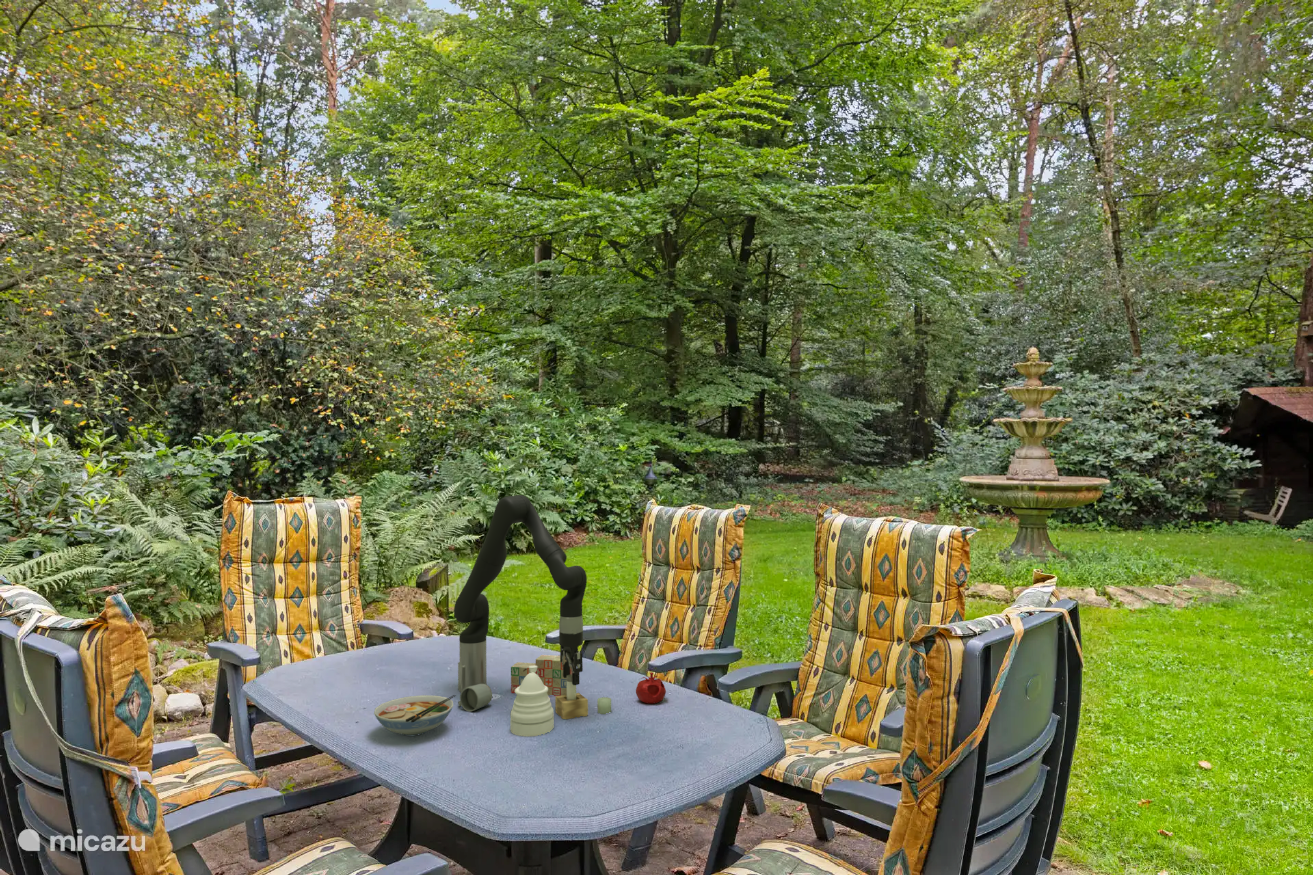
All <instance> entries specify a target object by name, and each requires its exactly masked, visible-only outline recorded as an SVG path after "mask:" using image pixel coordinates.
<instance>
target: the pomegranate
mask: <svg viewBox="0 0 1313 875" xmlns="http://www.w3.org/2000/svg"><path fill="white" fill-rule="evenodd" d="M649 674H650V676H649V675H645V676H643V677H641V678H640V681H639V682H637V685H636V689H635V694H636V697H637V698H638V700H639V701H640V702H643V703H644V704H649V705H653V704H658V703H660V702H662V701H663V700H664V699H665V697H666V693H667V691H666V688H665V684H664V683H663V679H662V680H661V678H658V677H659V676H658V675H654V672H649ZM655 678H656V679H655ZM642 679H643V680H642Z"/></svg>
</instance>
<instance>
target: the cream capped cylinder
mask: <svg viewBox="0 0 1313 875" xmlns="http://www.w3.org/2000/svg"><path fill="white" fill-rule="evenodd" d="M576 693H577V685H573V684H572V674H571V675H567V701H570V700H576Z"/></svg>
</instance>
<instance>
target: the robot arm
mask: <svg viewBox="0 0 1313 875" xmlns="http://www.w3.org/2000/svg"><path fill="white" fill-rule="evenodd" d="M519 523H521V524H523V525H524V526H525V527H526V528H527V529H528V531H529V532H530V534H531V537H532V538H531V539H532V542H533V547H534V550H535V552H536V553H537V555H538V557H539V558H540V559H541V560H542V561H543V563H544V564H545V565H546V567H547V568H548V571H549V573H550V575H551V578H552V580H553V582H554V583H555V585H556V586H557V587H558V588H559V589H560V590H563V591H566V594H565V595H564V596H563V597H562V598H561V599H560V601H559V602H560V603H559V621H558V622H559V623H558V625H559V626H558V633H559V635H558V641H559V642H558V644H559V646H560V650H559V652H560V653H559V655H560V662H562V666H563V677H564V678H567V675H570V667H571V669H572V684H573V685H576V686H579V685H580V673H582V672H584V669H583V668H584V667H583V652H582V651H581V652H580V651H579V646H582V645H583V644H584V623H583V622H584V620H583V599H584V595H585V592H586V588H587V581H588V578H587V577H588V576H587V572H586V570H585V569H584V568H583V567H582V566H580V565H571V566H567V565H566V564H565V563H566V561H567V559H568V558H567V557H568V556H567V554H566V552H565V550H563V548H562V547H561V546H560V545H559V544H558V543H557V541H556V540H555V538H553V536H552V535H551V534H550V532H549V531H548V529H547V527H546V525H545V524H544V521H543V520H542V518H541V517H540V515H539V513H538V512H537V510H536V509H535V506H534V505H533V503H532V501H530V499H529V497H527V496H525V495H522V494H516V495H509V496H504V497H502V498H500V499H499V500H498V502H497V504H496V506H495V508H494V511H493V514H492V518H491V522H490V525H489V528H488V530H487V533H486V536H485V538H484V542H483V544H482V546H481V548H480V550H479V552H478V555H477V557H476V560H475V563H474V565H473V568H472V570H471V572H470V574H469V576H468V578H467V581H466V582H465V584H464V586H463V587H462V590H461V591H460V594H459V595H458V596H457V598H456V601H455V603H454V607H453V614H454V615H453V616H454V618H455V620H456V621H457V622H459V623H461V624H466V623H469V625H468V626H467V627H466V628H465V629H464V630H463V631H461V632H460V633H459V635H458V636H459V641H458V642H459V661H458V662H457V678H458V679H457V682H458V683H457V690H458V691H459V692H460V693H461V692H462V691H463V690H464V689H465V688H467V687H470V686H474V685H478V684H486V685H488V684H487V683H488V682H487V675H488V674H487V635H488V632H489V621H490V618H489V617H490V605H489V600H488V598H487V597H486V595H485V594H483V591H484V590H485V589H486V588H488V586H489V585H491V583H493V581H495V580H496V579H497V577H498V576H499V575H500V574H501V571H502V569H503V567H504V565H505V563H506V560H507V557H508V550H507V546H506V536H507V535H508V532H509V530H510V528H511V527H512V526H513V524H519Z"/></svg>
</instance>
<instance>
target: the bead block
mask: <svg viewBox="0 0 1313 875" xmlns="http://www.w3.org/2000/svg"><path fill="white" fill-rule="evenodd" d="M554 698H555V699H554V700H555V701H554V702H555V704H554V705H555V707H554V708H555V710H554V711H555V713H556V714H557V715H558V716H559V717H560V716H561V717H560V718H561V719H562V720H563V719H565V720H570V719H571V720H572V719H576V718H575V717H577V718H581V717H580V716H583V717H588V716H589V699H588V698H587V697H585V696H583V695H582V694H581V693H580V692H576V700H570V701H567V695H561V696H554ZM587 715H588V716H587Z"/></svg>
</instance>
